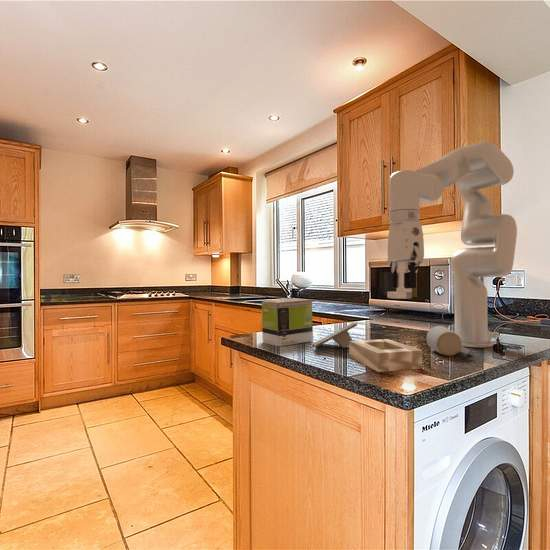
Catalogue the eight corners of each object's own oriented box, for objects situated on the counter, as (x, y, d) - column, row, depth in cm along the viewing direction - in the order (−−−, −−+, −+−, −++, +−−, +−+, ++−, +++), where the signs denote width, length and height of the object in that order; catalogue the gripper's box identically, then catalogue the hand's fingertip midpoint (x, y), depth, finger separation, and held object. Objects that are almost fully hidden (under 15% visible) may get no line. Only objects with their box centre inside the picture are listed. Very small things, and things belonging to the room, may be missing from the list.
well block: (387, 354, 105) (387, 339, 105) (422, 368, 90) (422, 350, 90) (349, 357, 102) (349, 341, 102) (378, 371, 87) (378, 353, 87)
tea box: (295, 337, 134) (295, 297, 133) (313, 342, 125) (313, 299, 125) (261, 342, 125) (261, 299, 125) (277, 347, 117) (277, 301, 117)
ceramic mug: (437, 357, 102) (437, 329, 102) (425, 350, 110) (426, 325, 110) (475, 357, 101) (475, 330, 101) (460, 351, 110) (461, 325, 110)
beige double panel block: (333, 368, 105) (371, 334, 106) (313, 345, 107) (351, 311, 108) (330, 363, 122) (363, 333, 122) (312, 343, 123) (345, 314, 124)
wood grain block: (401, 297, 98) (401, 260, 98) (411, 298, 94) (411, 259, 94) (387, 297, 97) (387, 260, 97) (396, 298, 93) (396, 259, 93)
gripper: (438, 214, 89) (438, 289, 89) (397, 224, 105) (397, 287, 105) (411, 212, 87) (411, 289, 87) (374, 222, 103) (374, 287, 103)
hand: (403, 287), depth 96 cm, fingers closed on wood grain block, 4 cm apart
